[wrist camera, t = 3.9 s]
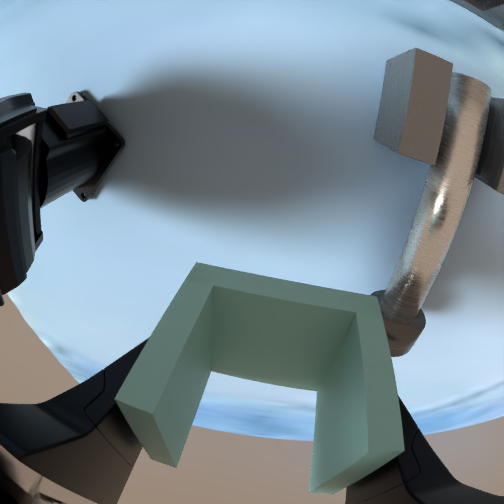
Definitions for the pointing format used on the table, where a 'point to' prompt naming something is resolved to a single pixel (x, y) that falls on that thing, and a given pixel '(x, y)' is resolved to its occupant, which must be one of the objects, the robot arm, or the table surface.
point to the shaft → (436, 213)
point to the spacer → (271, 367)
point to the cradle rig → (436, 105)
